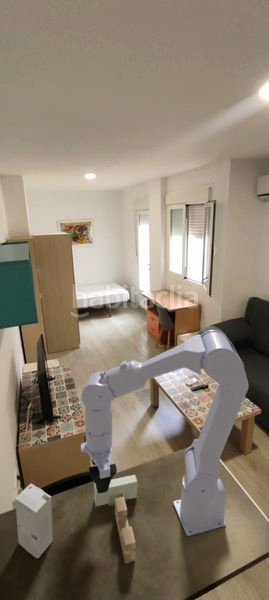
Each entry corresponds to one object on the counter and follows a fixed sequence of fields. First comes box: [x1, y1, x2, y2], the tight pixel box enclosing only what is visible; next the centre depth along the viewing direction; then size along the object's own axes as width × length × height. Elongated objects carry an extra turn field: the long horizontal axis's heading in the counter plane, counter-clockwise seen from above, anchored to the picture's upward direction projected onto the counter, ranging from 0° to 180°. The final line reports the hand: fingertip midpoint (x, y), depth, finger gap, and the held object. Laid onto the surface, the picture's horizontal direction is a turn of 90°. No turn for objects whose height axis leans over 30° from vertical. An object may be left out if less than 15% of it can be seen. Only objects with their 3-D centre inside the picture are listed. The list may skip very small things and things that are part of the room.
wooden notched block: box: [114, 495, 137, 564], centre depth 62 cm, size 2×10×5 cm, turn 15°
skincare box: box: [14, 483, 54, 559], centre depth 59 cm, size 6×4×12 cm
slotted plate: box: [93, 474, 138, 507], centre depth 70 cm, size 10×2×5 cm, turn 105°
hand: (99, 476), depth 67 cm, fingers open, 7 cm apart
